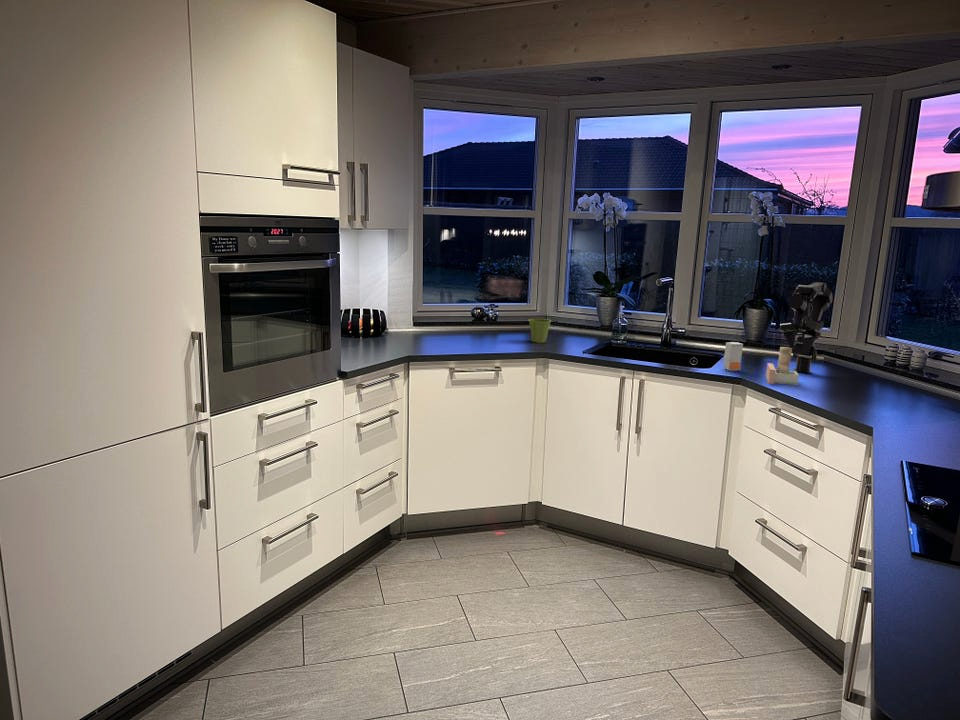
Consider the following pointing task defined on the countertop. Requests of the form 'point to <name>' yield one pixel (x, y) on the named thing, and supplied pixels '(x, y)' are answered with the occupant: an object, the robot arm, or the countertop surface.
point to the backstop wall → (770, 373)
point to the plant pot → (539, 329)
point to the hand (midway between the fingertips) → (799, 351)
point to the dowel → (784, 360)
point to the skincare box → (732, 356)
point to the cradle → (786, 378)
